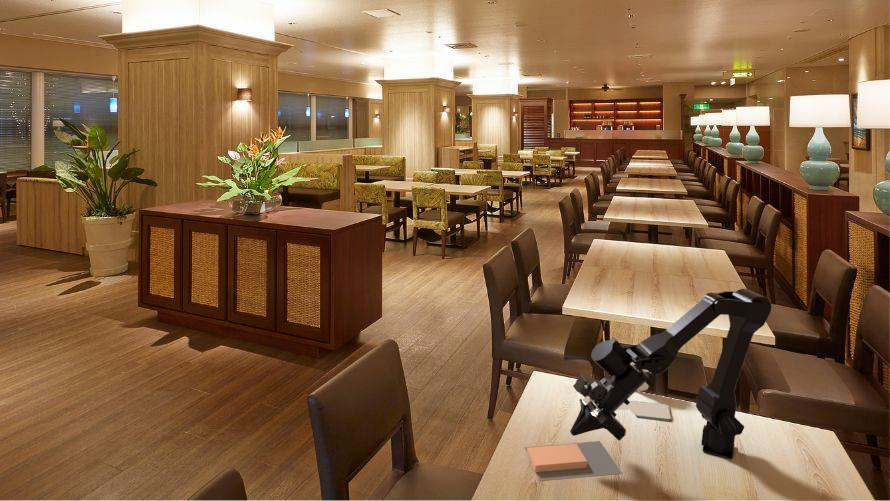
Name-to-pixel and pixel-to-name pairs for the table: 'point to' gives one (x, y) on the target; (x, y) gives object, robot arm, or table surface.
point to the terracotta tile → (556, 457)
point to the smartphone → (648, 410)
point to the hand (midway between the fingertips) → (571, 433)
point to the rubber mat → (596, 463)
